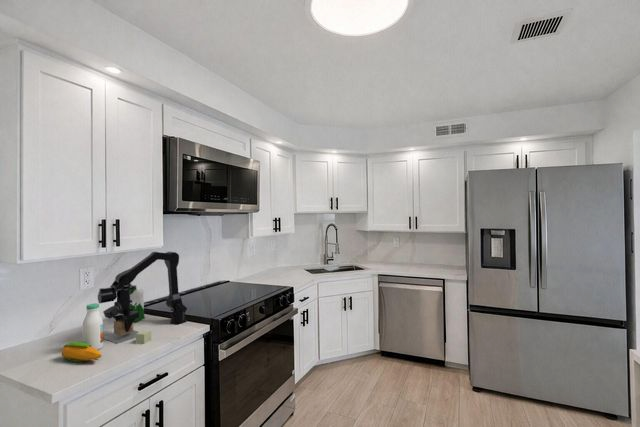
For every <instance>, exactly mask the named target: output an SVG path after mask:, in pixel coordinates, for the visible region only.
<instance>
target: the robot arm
mask: <svg viewBox="0 0 640 427" xmlns="http://www.w3.org/2000/svg"><path fill="white" fill-rule="evenodd" d="M158 260H161V261H164V264H165V266H166V268H167V277H168V278H167V280H168V289H169V290H168V292H169V293H168V296H167V297H165V305H166V306H167V308H168V309H170V312H171V316H170V321H169V323H170V324H172V325H173V324H174V325H180V324H183V323H186V322H188V320H187V319H186V312H187V310H188V308H187V306H186V305H184V303H183V299H182V297H181V295H180V293H179V281H178V280H179V279H178V266H179V262H180V255H179V253H177V252H174V251H166V252H158V251H152V252H151V253H150V254H149V255H147V256H145V258H143V259H141V261H138V263H136V264H135V265H134V266H132V267H131V268H129V269H126V270H124V271H122V272H119V273H118V274H117V275H116V276H115V279H114V281H113V282H112V283H111V285H110V287H102V288H99V291H98V294H97V301H98V304H103V303H104V304H105V303H109V302H110V303H111V302H114V301H115V300H116V301H115V302H114V303H113V304H114V305H112V306H110V307H108V308H107V309H105V310H103V315H104V317H105V318H106V319H114V320H115V321H117V320H121V319H122V320H123V321H124V322H125V329H126V332H128V331H129V330H130V328H131V326H132V324H133V325H134V323H135V322H134V320H135V318H139V317H140V313H139V312H138V311H132V308H130V303H132V300H130V289H135V287H133V284H132V282H133V281H134V280H135V279H136V277H137V276H139V274H140V273H141V272H143V271H144V270H146V269H147V268H148V267H150V266H151V265H153V263H155V262H156V261H158ZM130 311H131V312H130Z"/></svg>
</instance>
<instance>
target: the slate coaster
mask: <svg viewBox="0 0 640 427" xmlns="http://www.w3.org/2000/svg"><path fill="white" fill-rule="evenodd" d="M139 332H140V331H136V330H134V329H133V332H131V333H128V334H125V335H122V336H120V335H117V334H114V333H113V334H109V335H106V336H103V340H105V341H108V342H111V343H114V344H117V345H118V344H120V343H124V342H127V341H129V340H133V339H136V334H137V333H139Z"/></svg>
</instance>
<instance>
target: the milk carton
mask: <svg viewBox="0 0 640 427" xmlns="http://www.w3.org/2000/svg"><path fill="white" fill-rule="evenodd" d="M132 286H133V287H135V289H130V300H132V303H130V308H132V311H138V312H139V313H140V317H139V318H135V320H134V322H133V323H139V322H140V321H143V320H145V304H144V302H145V299H144V297H145V290H146V287H137V285H135V284H134V285H133V284H132ZM130 312H131V311H130Z"/></svg>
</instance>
